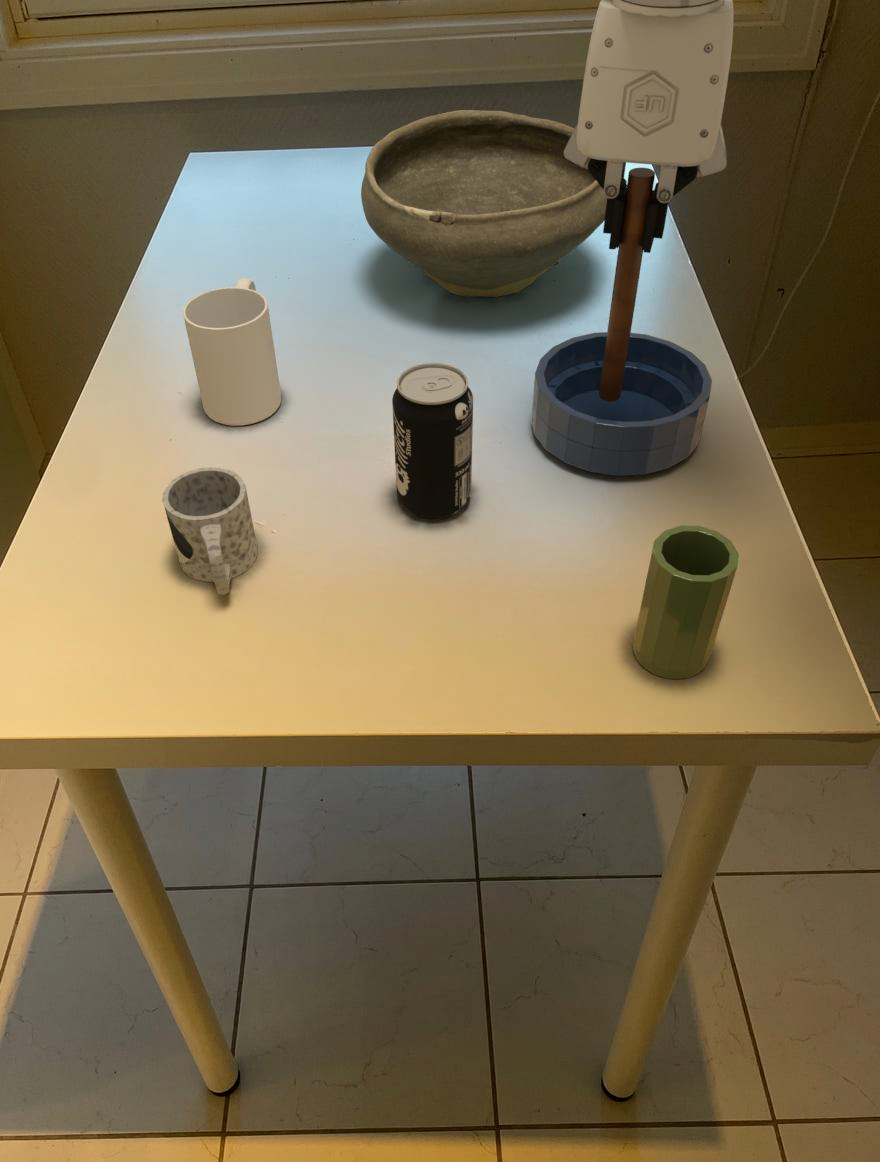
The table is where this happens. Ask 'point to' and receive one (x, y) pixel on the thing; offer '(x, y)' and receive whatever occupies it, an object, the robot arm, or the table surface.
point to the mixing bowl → (620, 405)
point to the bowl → (480, 198)
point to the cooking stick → (626, 282)
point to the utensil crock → (684, 600)
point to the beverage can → (433, 439)
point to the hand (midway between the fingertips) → (631, 241)
